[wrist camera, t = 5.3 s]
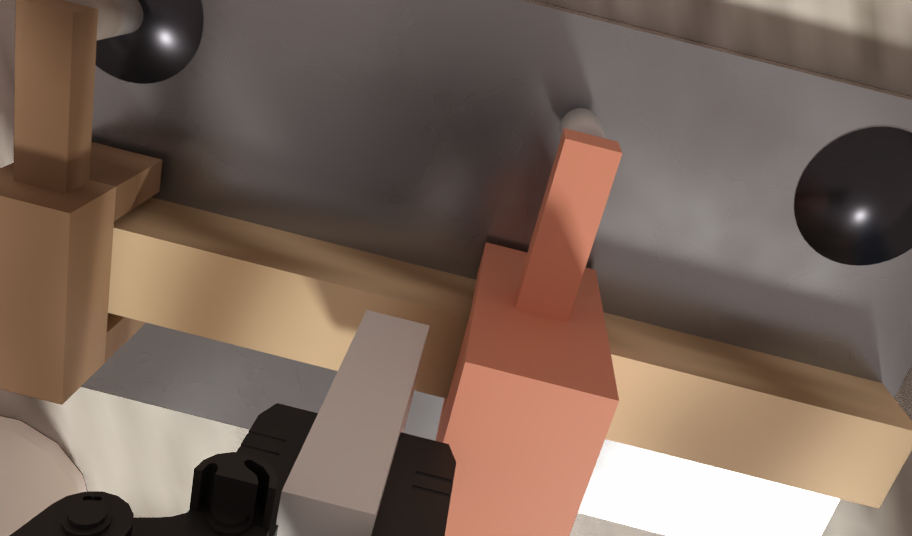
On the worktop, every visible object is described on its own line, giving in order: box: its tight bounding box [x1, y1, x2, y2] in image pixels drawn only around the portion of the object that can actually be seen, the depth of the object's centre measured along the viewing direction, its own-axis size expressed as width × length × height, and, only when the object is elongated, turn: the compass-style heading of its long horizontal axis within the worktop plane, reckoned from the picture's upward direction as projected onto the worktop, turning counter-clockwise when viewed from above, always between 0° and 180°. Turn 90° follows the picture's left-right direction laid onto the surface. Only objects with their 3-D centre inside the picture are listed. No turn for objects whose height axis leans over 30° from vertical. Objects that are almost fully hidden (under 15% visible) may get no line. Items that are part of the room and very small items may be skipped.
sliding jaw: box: [435, 108, 623, 536], centre depth 18 cm, size 3×9×6 cm, turn 167°
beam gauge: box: [0, 0, 912, 509], centre depth 19 cm, size 23×9×5 cm, turn 77°
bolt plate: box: [81, 0, 912, 536], centre depth 22 cm, size 24×14×1 cm, turn 77°
